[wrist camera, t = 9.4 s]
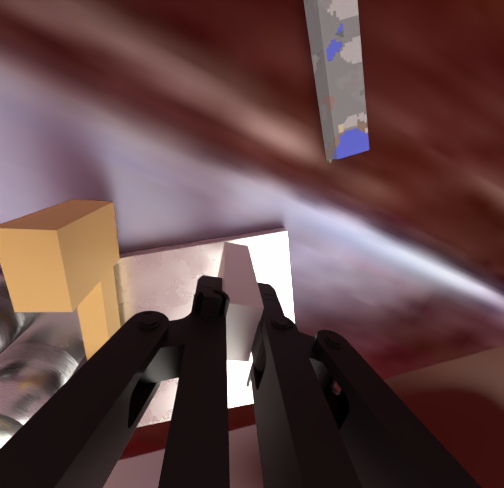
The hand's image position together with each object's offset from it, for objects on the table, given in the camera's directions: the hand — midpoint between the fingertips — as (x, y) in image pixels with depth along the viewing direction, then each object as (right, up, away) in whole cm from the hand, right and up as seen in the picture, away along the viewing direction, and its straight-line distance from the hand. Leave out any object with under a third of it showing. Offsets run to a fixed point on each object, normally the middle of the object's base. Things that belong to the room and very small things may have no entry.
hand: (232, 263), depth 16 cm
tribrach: (-8, -7, +6) cm, 12 cm away
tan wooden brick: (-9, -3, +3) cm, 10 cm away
